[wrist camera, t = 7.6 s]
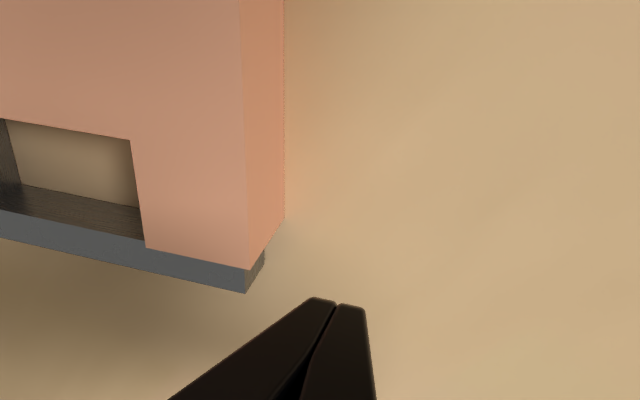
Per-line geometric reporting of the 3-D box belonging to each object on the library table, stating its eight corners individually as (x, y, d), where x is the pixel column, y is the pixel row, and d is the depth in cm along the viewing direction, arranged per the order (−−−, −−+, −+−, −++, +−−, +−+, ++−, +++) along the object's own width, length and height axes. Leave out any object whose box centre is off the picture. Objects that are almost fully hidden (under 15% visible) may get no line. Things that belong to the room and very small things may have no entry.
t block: (283, -176, 17) (231, -178, 14) (284, 217, 24) (250, 270, 21) (-66, -187, 20) (-169, -191, 17) (24, 167, 26) (-38, 207, 24)
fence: (253, -295, 16) (220, -310, 14) (264, 263, 25) (245, 294, 23) (-142, -290, 19) (-207, -302, 17) (0, 206, 28) (-33, 229, 26)
